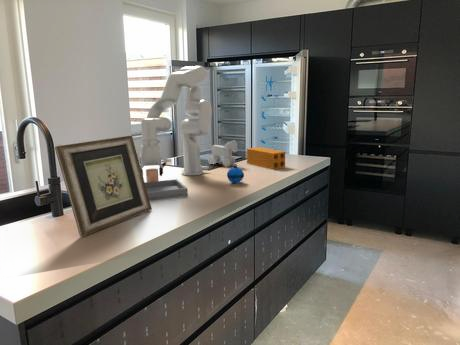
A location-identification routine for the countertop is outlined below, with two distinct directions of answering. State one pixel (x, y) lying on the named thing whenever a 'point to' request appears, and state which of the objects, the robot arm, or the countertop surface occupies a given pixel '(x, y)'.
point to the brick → (266, 158)
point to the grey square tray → (165, 189)
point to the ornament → (235, 174)
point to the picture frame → (103, 182)
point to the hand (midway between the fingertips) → (151, 176)
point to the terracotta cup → (152, 175)
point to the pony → (223, 154)
